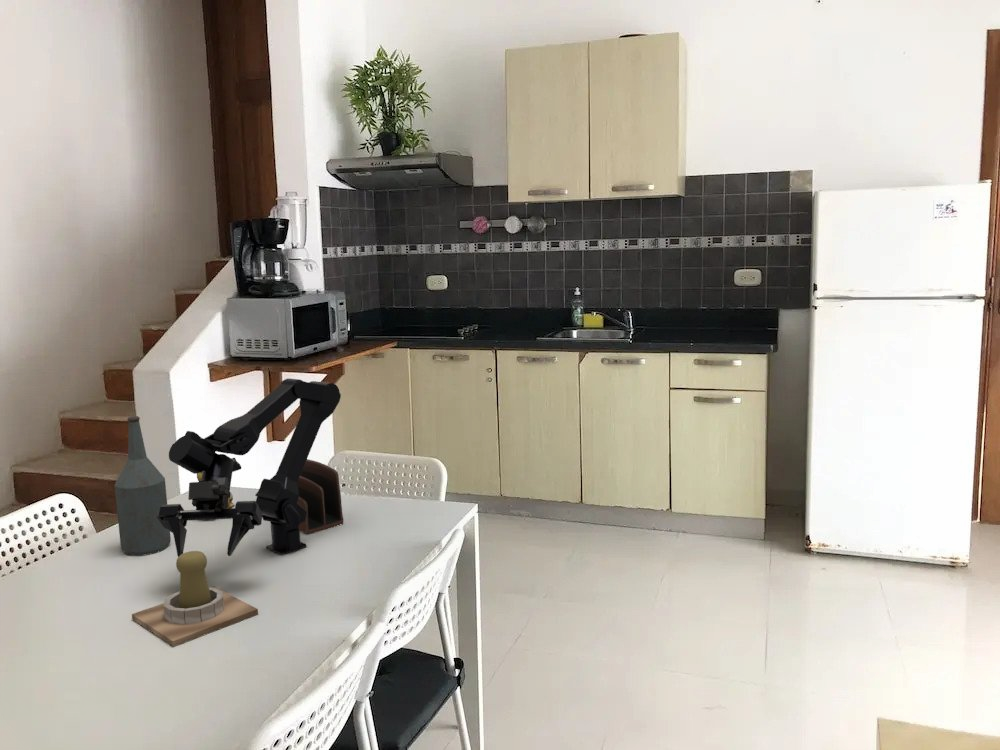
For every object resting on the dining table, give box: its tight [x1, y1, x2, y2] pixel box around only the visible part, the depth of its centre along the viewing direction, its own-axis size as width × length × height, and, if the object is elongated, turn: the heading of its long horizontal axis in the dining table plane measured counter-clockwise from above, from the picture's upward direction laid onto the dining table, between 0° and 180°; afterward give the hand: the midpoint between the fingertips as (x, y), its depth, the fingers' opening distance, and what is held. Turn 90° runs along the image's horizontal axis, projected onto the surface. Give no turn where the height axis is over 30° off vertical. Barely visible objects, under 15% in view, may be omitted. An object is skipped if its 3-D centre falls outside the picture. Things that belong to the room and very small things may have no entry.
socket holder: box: [131, 585, 259, 647], centre depth 152 cm, size 16×16×4 cm
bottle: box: [114, 415, 172, 556], centre depth 185 cm, size 10×10×30 cm
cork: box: [175, 550, 212, 609], centre depth 151 cm, size 6×6×11 cm
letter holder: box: [297, 458, 344, 535], centre depth 202 cm, size 10×20×14 cm, turn 44°
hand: (204, 556), depth 158 cm, fingers open, 9 cm apart
